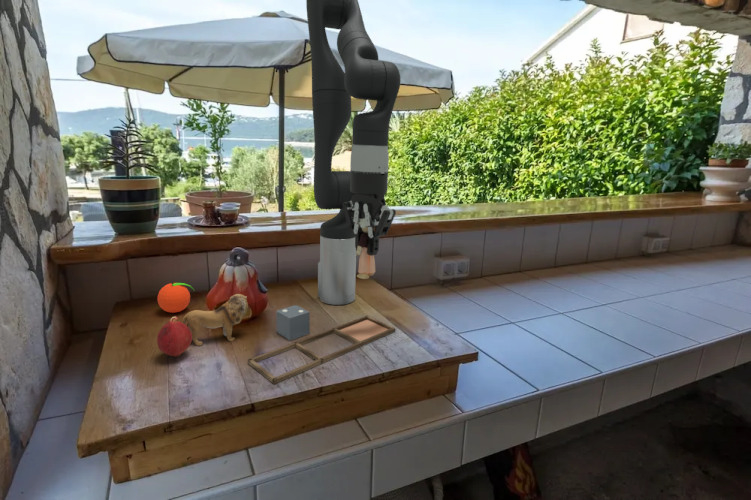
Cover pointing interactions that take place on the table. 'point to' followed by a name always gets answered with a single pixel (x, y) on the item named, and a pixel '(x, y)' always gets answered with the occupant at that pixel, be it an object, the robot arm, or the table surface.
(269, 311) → the table surface
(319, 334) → the board
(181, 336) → the red oval fruit
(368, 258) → the grandmother figurine
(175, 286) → the clementine
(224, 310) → the lion figurine
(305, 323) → the die
